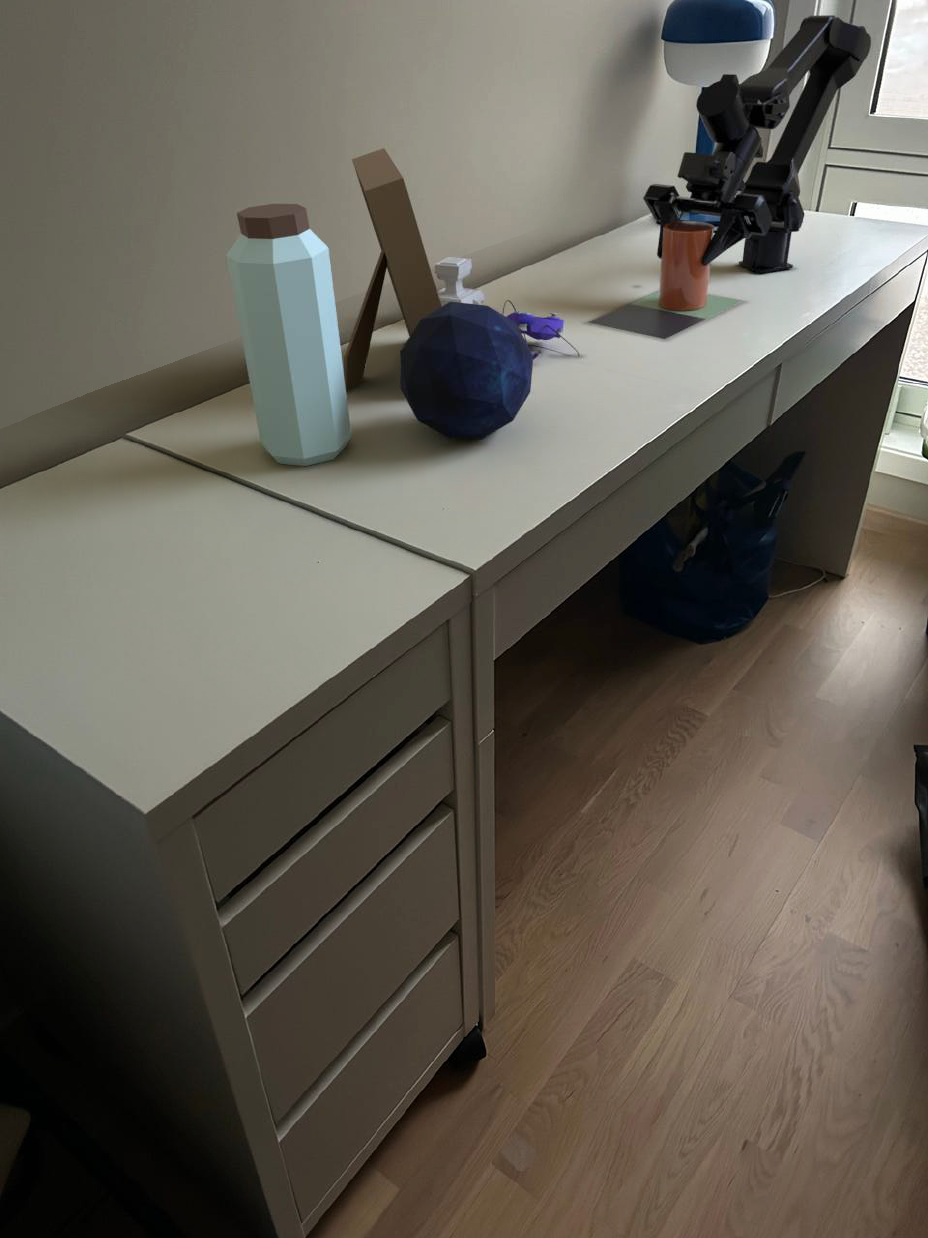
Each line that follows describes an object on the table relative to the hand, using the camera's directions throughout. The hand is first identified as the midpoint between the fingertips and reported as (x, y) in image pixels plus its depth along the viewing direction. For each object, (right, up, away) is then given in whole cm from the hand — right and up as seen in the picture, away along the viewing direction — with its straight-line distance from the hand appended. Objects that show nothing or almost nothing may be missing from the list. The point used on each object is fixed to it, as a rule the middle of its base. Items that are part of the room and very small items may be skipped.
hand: (680, 260), depth 137 cm
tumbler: (+1, -5, +5) cm, 7 cm away
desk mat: (-2, -7, +2) cm, 7 cm away
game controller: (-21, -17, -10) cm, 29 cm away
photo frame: (-40, -19, -12) cm, 46 cm away
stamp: (-33, -7, +5) cm, 34 cm away
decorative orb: (-31, -31, -30) cm, 53 cm away
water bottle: (-49, -33, -32) cm, 67 cm away
